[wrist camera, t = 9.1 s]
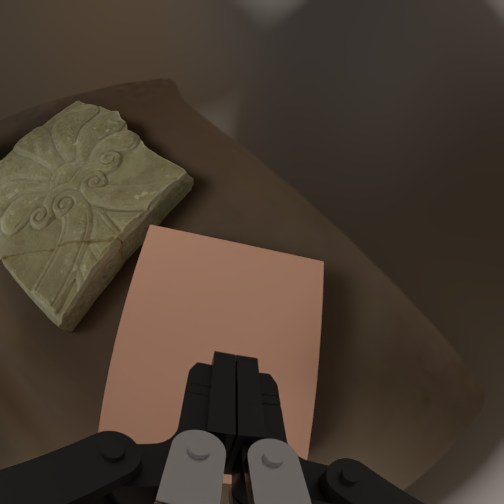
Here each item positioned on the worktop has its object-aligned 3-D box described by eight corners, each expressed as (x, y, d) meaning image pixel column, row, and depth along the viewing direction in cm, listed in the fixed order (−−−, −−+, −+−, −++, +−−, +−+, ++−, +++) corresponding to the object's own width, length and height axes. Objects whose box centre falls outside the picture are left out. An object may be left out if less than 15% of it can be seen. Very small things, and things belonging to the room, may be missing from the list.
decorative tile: (71, 337, 19) (52, 327, 16) (-26, 212, 21) (-40, 194, 18) (207, 183, 28) (210, 157, 25) (86, 113, 30) (81, 91, 27)
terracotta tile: (302, 485, 13) (323, 261, 20) (95, 454, 12) (150, 224, 19) (282, 471, 16) (303, 282, 24) (112, 443, 15) (155, 251, 22)
